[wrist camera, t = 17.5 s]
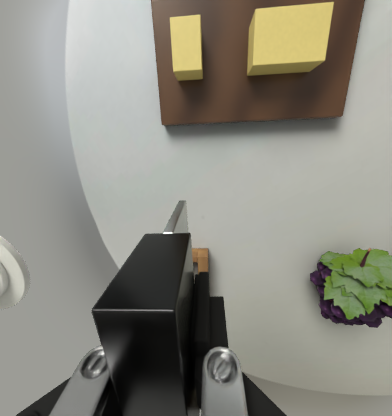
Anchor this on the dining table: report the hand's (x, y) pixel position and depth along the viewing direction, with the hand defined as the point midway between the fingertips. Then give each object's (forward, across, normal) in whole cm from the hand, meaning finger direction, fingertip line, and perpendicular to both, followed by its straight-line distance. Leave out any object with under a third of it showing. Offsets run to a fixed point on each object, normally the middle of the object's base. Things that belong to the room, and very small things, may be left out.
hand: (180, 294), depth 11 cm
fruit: (+19, -22, +13) cm, 31 cm away
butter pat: (+17, 0, -18) cm, 25 cm away
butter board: (+19, -7, -18) cm, 27 cm away
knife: (+4, 0, 0) cm, 4 cm away
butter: (+17, -10, -18) cm, 27 cm away
